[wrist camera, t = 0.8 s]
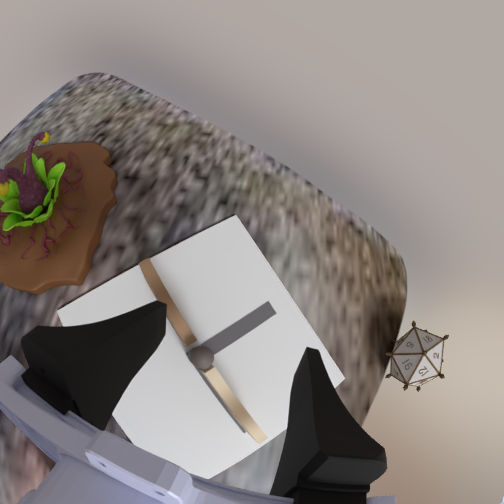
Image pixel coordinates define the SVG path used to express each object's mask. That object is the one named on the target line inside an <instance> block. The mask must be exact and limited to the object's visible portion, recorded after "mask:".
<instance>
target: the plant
mask: <svg viewBox="0 0 504 504" xmlns="http://www.w3.org/2000/svg"><path fill="white" fill-rule="evenodd" d="M37 139H39V140H40V142H41V143H47V142H48V141H49V139H50V135H49V134H48V133H47V132H41V133H39V134H37V136H34V138H33V139H32V141H31V142H30V145H29V147H28V151H26V152H24V153H22V154H20V155H19V156H18V157H16V158H15V159H14V160H13V161H11V162H10V163H8V164H7V165H6V166H5V169H4V170H3V169H0V282H2V283H3V284H5V285H6V286H8V287H10V288H12V289H15V290H20V291H24V292H28V293H31V294H36V295H40V294H42V293H44V292H46V291H47V290H49V289H51V288H53V287H57V286H65V285H78V286H81V285H82V284H83V282H84V280H85V278H86V276H87V274H88V273H89V271H90V268H91V264H92V258H93V254H94V251H95V248H96V247H97V245H98V243H99V241H100V239H101V236H102V231H103V226H104V222H105V218H106V216H107V214H108V212H109V211H110V210H111V209H112V208H113V207H114V206H115V205H116V204H117V201H116V198H115V195H114V191H115V189H116V187H117V178H116V174H115V172H114V171H113V170H112V169H111V168H109V167H108V166H109V165H110V163H111V158H110V153H109V152H108V151H107V150H106V149H105V148H104V147H102V146H101V145H99V144H96V143H93V142H82V143H62V144H52V145H48V146H36V147H34V148H33V146H34V145H35V141H36V140H37Z"/></svg>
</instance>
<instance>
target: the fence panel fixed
mask: <svg viewBox="0 0 504 504" xmlns="http://www.w3.org/2000/svg"><path fill="white" fill-rule="evenodd" d="M188 359H189V361H190V362H191V363H192V364H193V365H194V366H196V367H197V368H200V370H201V372H202V373H203V375H204V376H205V378H206V379H207V381H208V382H209V383H210V385H211V386H212V388H213V389H214V390H215V392H216V393H217V394H218V396H219V397H220V399H221V400H222V401H223V403H224V404H225V405H226V407H227V408H228V409H229V411H230V412H231V413H232V414H233V416H234V417H235V418H236V420H237V421H238V422H239V423H240V425H241V426H242V427H243V428H244V430H245V431H246V432H247V433H248V434H249V435H250V436H251V437H252V438H253V439H254V440H255V441H256V442H257V443H258V444H260V443H262V442H263V441H265V440H266V439H268V437H267V436H266V434H265V433H264V432H263V431H262V430H261V428H260V427H259V426H258V425H257V423H256V422H255V421H254V420H253V418H252V417H251V416H250V414H249V413H248V412H247V410H246V409H245V408H244V407H243V405H242V404H241V403H240V401H239V400H238V399H237V397H236V396H235V395H234V393H233V392H232V390H231V389H230V388H229V386H228V385H227V383H226V382H225V381H224V379H223V378H222V376H221V375H220V374H219V372H218V371H217V369H216V368H215V367H214V366H211V365H212V363H213V361H214V354H213V352H212V350H211V349H210V348H208V347H206V346H198V347H194V348H192V349H191V350H190V351H189V352H188Z"/></svg>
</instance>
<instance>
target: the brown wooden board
mask: <svg viewBox="0 0 504 504" xmlns="http://www.w3.org/2000/svg"><path fill="white" fill-rule="evenodd" d="M139 265H140V268H141V270H142V273H143V275H144V278H145V280H146V282H147V284H148V285H149V287H150V289H151V291H152V293H153V294H154V296H155V298H156V300H158V301H160V302H163V303H166V304H167V315H166V317H167V319H168V320H169V322H170V324H171V325H172V327H173V329H174V330H175V332H176V333H177V335H178V337H179V338H180V340H181V341H182V343H183V345H184V346H185V348H186V347H187V346H189V345H191V344H192V343H194V342H196V341H197V339H196V337H195V336H194V334H193V333H192V331H191V329H190V328H189V326H188V325H187V323H186V321H185V320H184V318H183V317H182V315H181V313H180V312H179V310H178V308H177V307H176V305H175V303H174V302H173V300H172V298H171V296H170V295H169V293H168V291H167V290H166V288H165V286H164V284H163V283H162V281H161V279H160V277H159V275H158V274H157V272H156V270H155V268H154V266H153V265H152V263H151V261H150V259H149V258H147V259H145V260H143V261H141V262H139Z"/></svg>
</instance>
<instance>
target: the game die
mask: <svg viewBox="0 0 504 504" xmlns="http://www.w3.org/2000/svg"><path fill="white" fill-rule="evenodd" d="M412 326H413V328H412V329H411V330H410V331H409V332H408V333H406V334H405V335H404V336H403V337H401V338H400V339H399V340H398V341H396V340H395V339H391V340H392V342H393V343H395V345H394V347H393V350H392V353H391V352H387V353H385V354H386V355H387V356H391V373H390V374H388V375H387V376H386V378H389V377H390V376H393V377H394V378H396V379H398V380H399V381H401V382H402V383H404V384H405V385H404V387H403V388H404V390H406V389H407V388H408V385H410V386H417V391H418V392H419V390H420V385H422V384H424V383H426V382H428V381H430V380H432V379H434V378H435V377H437V376H440V378H444V375H443V374H441V365H442V362H443V359H442V357H443V347H444V340H446V339H448V337H449V335H446V336H444V338H441V337H438V336H436V335H434V334H431V333H429V332H427V330H421V329H419V328H417V327H415V326H416V323H415V322H414V321H413V322H412Z"/></svg>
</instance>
